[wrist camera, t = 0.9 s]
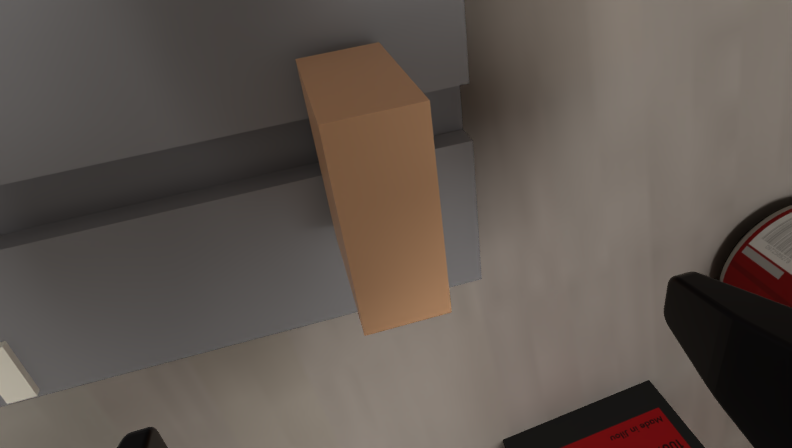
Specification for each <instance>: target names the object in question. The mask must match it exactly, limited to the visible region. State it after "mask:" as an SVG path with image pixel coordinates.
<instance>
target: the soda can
mask: <svg viewBox="0 0 792 448" xmlns="http://www.w3.org/2000/svg"><path fill="white" fill-rule="evenodd" d="M720 281H721V282H724V283H727V284H729V285H732V286H735V287H737V288H740V289H743V290H745V291H748V292H751V293H753V294H756V295H759V296H762V297H764V298H767V299H770V300H772V301H775V302H778V303H780V304H783V305H786V306H788V307H791V308H792V205H790V206H787V207H785V208H783V209H781V210H778V211H776V212H775V213H773V214H771V215H770V216H768V217H766V218H765V219H763V220H762V221H761V222H759V223H758V224H757V225H755V226H754V227H753V228H752V229H750V230H749V231H748V232H747V233H746V234H745V235H744V236H743V237H742V238H741V239H740V241H739V242H738V243H737V245H736V246H735V247H734V249H733V250H732V252H731V254H730V255H729V257H728V259H727V260H726V263H725V265H724V267H723V270H722V272H721V276H720Z"/></svg>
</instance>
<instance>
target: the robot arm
mask: <svg viewBox="0 0 792 448" xmlns="http://www.w3.org/2000/svg"><path fill="white" fill-rule="evenodd" d="M664 317H665V320H666V322H667V324H668V326H669V328H670V329H671V331H672V332H673V334H674V336H675V337H676V339H677V340H678V342H679V343H680V345H681V347H682V348H683V350H684V351H685V353H686V354H687V356H688V358H689V359H690V361H691V362H692V364H693V365H694V367H695V368H696V370H697V372H698V373H699V375H700V376H701V378H702V379H703V381H704V383H705V384H706V386H707V387H708V389H709V390H710V391H711V393H712V394H713V396H714V397H715V398H716V400H717V401H718V402H719V404H720V405H721V406H722V408H723V409H724V410H725V412H726V413H727V414H728V415H729V417H730V418H731V419H732V420H733V422H734V423H735V424H736V425H737V427H738V428H739V429H740V430H741V432H742V433H743V434H744V436H745V437H746V438H747V439H748V441H749V442H750V443H751V444H752V446H753V447H754V448H792V308H791V307H788V306H786V305H783V304H780V303H778V302H775V301H772V300H770V299H767V298H764V297H762V296H759V295H756V294H753V293H751V292H748V291H745V290H743V289H740V288H737V287H735V286H732V285H729V284H727V283H724V282H721V281H719V280H716V279H713V278H711V277H708V276H705V275H702V274H700V273H697V272H687V273H684V274H680V275H677V276H673V277H672V278H671V279H670V280H669V282H668V286H667V293H666V299H665V305H664ZM117 448H168V447H167V446H166V444H165V442H164V441H163V439H162V437H161V436H160V434H159V432H158V431H157V430H156V429H155V428H153V427H148V428H144V429H141V430H137V431H134V432H131V433H128V434H127V435H126V436H125V437H124V438H123V439H122V441H121V442H120V444H119V445H118V447H117Z"/></svg>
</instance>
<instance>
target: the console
mask: <svg viewBox="0 0 792 448" xmlns="http://www.w3.org/2000/svg"><path fill="white" fill-rule="evenodd" d="M377 42H379V43H380V44H381V45H382V46H383V47H384V49H385V50H386V51H387V52H388V53H389V54H390V55H391V57H392V58H393V59H394V60H395V61H396V62H397V63H398V65H399V66H400V67H401V68H402V69H403V70H404V71H405V73H406V74H407V75H408V76H409V77H410V78H411V79H412V81H413V82H414V83H415V84H416V85H417V86H418V87H419V89H420V90H421V91H422V92H423V93H424V94H425V96H426V97H427V98H428V99H429V100H430V107H431V117H432V127H433V136H434V146H435V156H436V166H437V175H438V185H439V195H440V204H441V214H442V224H443V233H444V243H445V253H446V262H447V272H448V282H449V287H453V286H457V285H461V284H464V283H468V282H472V281H476V280H479V279H482V278H481V262H480V246H479V230H478V214H477V198H476V182H475V166H474V149H473V140H472V139H471V138H470V137H469V136H468V134H467V133H466V132H465V131H464V130H463V123H462V109H461V95H460V85H464V84H468V83H469V69H468V53H467V37H466V21H465V5H464V0H0V407H2V406H5V405H9V404H13V403H17V402H20V401H24V400H28V399H32V398H35V397H39V396H43V395H47V394H51V393H54V392H58V391H62V390H66V389H69V388H73V387H77V386H81V385H84V384H88V383H92V382H96V381H99V380H103V379H107V378H111V377H114V376H118V375H122V374H126V373H130V372H133V371H137V370H141V369H145V368H148V367H152V366H156V365H160V364H163V363H167V362H171V361H175V360H178V359H182V358H186V357H190V356H193V355H197V354H201V353H205V352H209V351H212V350H216V349H220V348H224V347H227V346H231V345H235V344H239V343H242V342H246V341H250V340H254V339H257V338H261V337H265V336H269V335H272V334H276V333H280V332H284V331H288V330H291V329H295V328H299V327H303V326H306V325H310V324H314V323H318V322H321V321H325V320H329V319H333V318H336V317H340V316H344V315H348V314H351V313H355V312H358V311H357V307H356V304H355V300H354V297H353V294H352V290H351V287H350V283H349V280H348V276H347V273H346V269H345V266H344V262H343V259H342V256H341V252H340V249H339V245H338V242H337V238H336V235H335V230H334V226H333V222H332V217H331V213H330V208H329V204H328V200H327V195H326V191H325V187H324V182H323V178H322V174H321V169H320V165H319V160H318V156H317V152H316V147H315V143H314V139H313V134H312V130H311V126H310V121H309V117H308V112H307V108H306V104H305V99H304V95H303V91H302V86H301V82H300V78H299V73H298V69H297V64H296V60H295V59H298V58H303V57H308V56H313V55H318V54H323V53H327V52H332V51H337V50H342V49H347V48H352V47H357V46H362V45H367V44H372V43H377Z"/></svg>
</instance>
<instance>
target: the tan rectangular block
mask: <svg viewBox="0 0 792 448" xmlns="http://www.w3.org/2000/svg"><path fill="white" fill-rule="evenodd" d="M295 60H296V64H297V69H298V73H299V78H300V82H301V86H302V91H303V95H304V99H305V104H306V108H307V112H308V117H309V121H310V126H311V130H312V134H313V139H314V143H315V147H316V152H317V156H318V160H319V165H320V169H321V174H322V178H323V182H324V187H325V191H326V195H327V200H328V204H329V208H330V213H331V217H332V222H333V226H334V230H335V235H336V238H337V242H338V245H339V249H340V252H341V256H342V259H343V262H344V266H345V269H346V273H347V276H348V280H349V283H350V287H351V290H352V294H353V297H354V300H355V304H356V307H357V311H358V314H359V318H360V321H361V325H362V328H363V332H364V335H365V336H366V335H370V334H373V333H377V332H381V331H384V330H388V329H392V328H395V327H399V326H403V325H406V324H410V323H414V322H417V321H421V320H425V319H429V318H432V317H436V316H440V315H443V314H447V313H451V312H452V311H451V301H450V292H449V282H448V272H447V262H446V253H445V243H444V233H443V224H442V214H441V204H440V195H439V185H438V175H437V166H436V156H435V146H434V136H433V127H432V117H431V107H430V100H429V99H428V98H427V97H426V96H425V94H424V93H423V92H422V91H421V90H420V89H419V87H418V86H417V85H416V84H415V83H414V82H413V81H412V79H411V78H410V77H409V76H408V75H407V74H406V73H405V71H404V70H403V69H402V68H401V67H400V66H399V65H398V63H397V62H396V61H395V60H394V59H393V58H392V57H391V55H390V54H389V53H388V52H387V51H386V50H385V49H384V47H383V46H382V45H381V44H380V43H379V42H377V43H372V44H367V45H362V46H357V47H352V48H347V49H342V50H337V51H332V52H327V53H323V54H318V55H313V56H308V57H303V58H298V59H295Z"/></svg>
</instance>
